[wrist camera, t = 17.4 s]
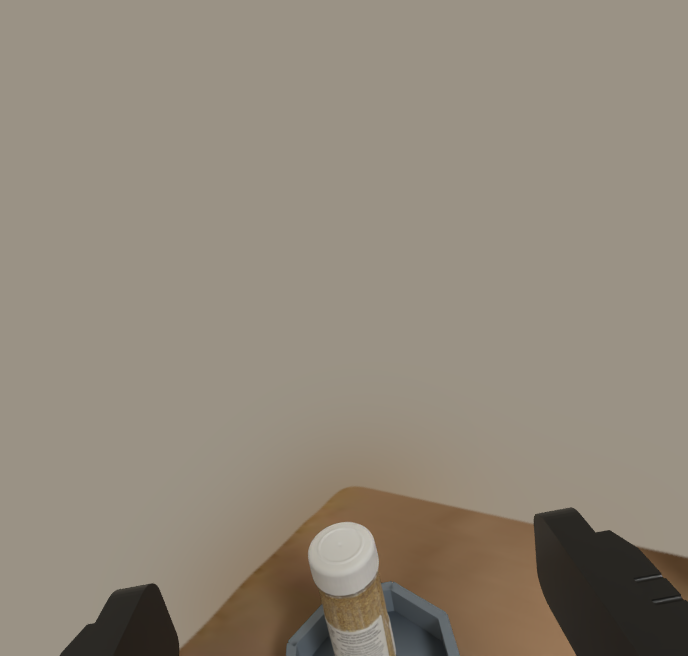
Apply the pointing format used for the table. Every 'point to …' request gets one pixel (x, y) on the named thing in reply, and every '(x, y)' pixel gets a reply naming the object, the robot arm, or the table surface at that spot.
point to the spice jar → (351, 590)
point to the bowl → (406, 622)
